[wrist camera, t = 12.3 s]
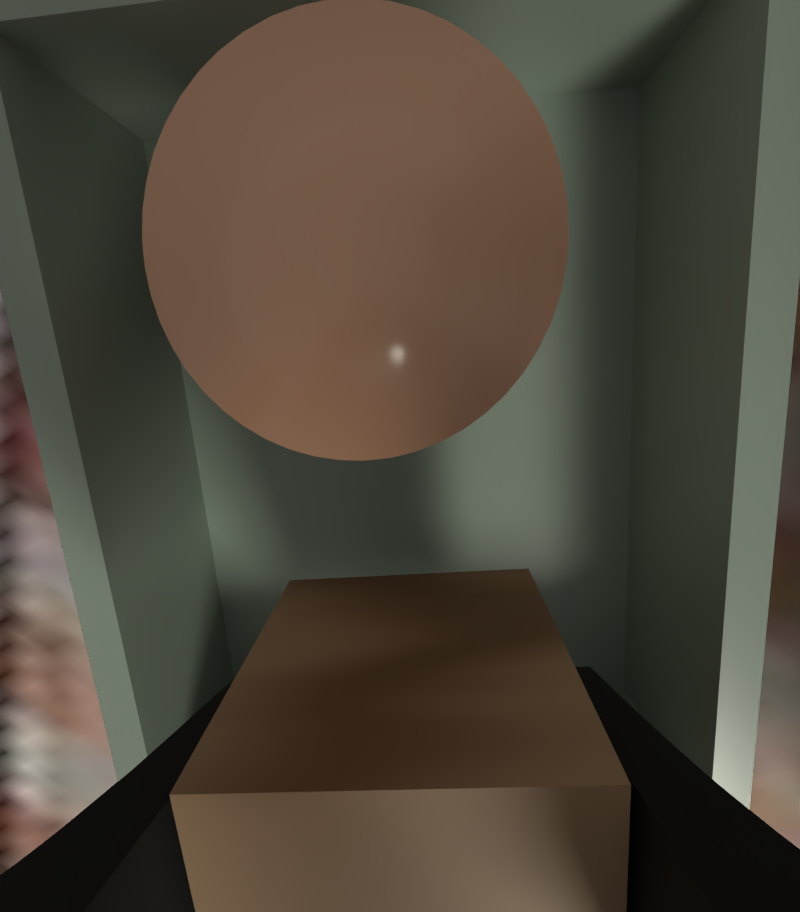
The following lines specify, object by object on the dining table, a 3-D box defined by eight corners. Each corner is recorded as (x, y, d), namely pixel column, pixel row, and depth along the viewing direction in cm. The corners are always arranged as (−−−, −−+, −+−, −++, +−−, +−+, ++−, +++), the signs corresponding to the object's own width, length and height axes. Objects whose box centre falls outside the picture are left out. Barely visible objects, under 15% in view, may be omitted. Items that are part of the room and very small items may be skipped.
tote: (664, 58, 12) (840, -155, 7) (642, 696, 15) (744, 859, 10) (120, 119, 12) (-76, -31, 8) (224, 709, 16) (138, 864, 11)
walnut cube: (528, 568, 10) (631, 784, 5) (532, 769, 11) (619, 1106, 6) (289, 580, 10) (169, 794, 5) (316, 774, 11) (237, 1099, 6)
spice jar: (480, 180, 12) (536, -64, 5) (510, 385, 13) (593, 422, 6) (283, 227, 12) (87, 67, 5) (327, 419, 13) (205, 489, 6)
